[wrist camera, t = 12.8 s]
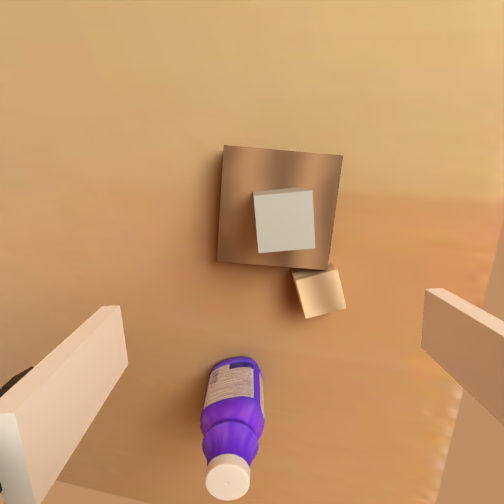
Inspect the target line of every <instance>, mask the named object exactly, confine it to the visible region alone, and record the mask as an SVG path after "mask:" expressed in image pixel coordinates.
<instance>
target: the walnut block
mask: <svg viewBox="0 0 504 504" xmlns="http://www.w3.org/2000/svg"><path fill="white" fill-rule="evenodd" d="M342 159H343V156H341V155H329V154H318V153H307V152H295V151H284V150H272V149H261V148H249V147H238V146H227V145H224V151H223V167H222V184H221V200H220V216H219V233H218V249H217V262H228V263H241V264H254V265H267V266H280V267H293V268H306V269H319V270H327V268H328V261H329V253H330V246H331V239H332V232H333V224H334V217H335V210H336V203H337V195H338V188H339V181H340V174H341V166H342ZM296 187H299V188H303V189H308V190H312V191H313V210H314V231H315V248H312V249H301V250H289V251H278V252H267V253H259V252H258V241H257V230H256V218H255V207H254V196H253V191H264V190H275V189H285V188H296Z"/></svg>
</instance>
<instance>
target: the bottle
mask: <svg viewBox="0 0 504 504" xmlns="http://www.w3.org/2000/svg"><path fill="white" fill-rule="evenodd" d="M264 420H265V419H264V400H263V382H262V374H261V371H260V369H259V367H258V365H257V364H256V362H255V361H254V360H253V359H251V358H249V357H234V358H230V359H227V360H224V361H222V362H220V363H218V364H217V365H216V366H215V367H214V368H213V369H212V371H211V373H210V377H209V380H208V385H207V390H206V395H205V400H204V404H203V409H202V413H201V418H200V422H201V426H200V427H201V430H202V432H203V435H204V438H203V444H202V446H203V452H204V455H205V456H206V458H207V469H206V479H205V484H206V488H207V490H208V491H209V493H210V494H211V495H213V496H214V497H216V498H218V499H221V500H235V499H238V498H240V497H242V496H243V495H244V494H245V493H246V492H247V490H248V488H249V484H250V465H251V462H252V460H253V459H254V458H255V456H256V455H257V451H258V440H259V438H260V436H261V434H262V431H263V428H264Z"/></svg>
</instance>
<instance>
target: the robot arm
mask: <svg viewBox="0 0 504 504" xmlns="http://www.w3.org/2000/svg"><path fill="white" fill-rule="evenodd" d="M421 348H422V349H423V350H424V351H425V352H426V353H428V354H429V355H430V356H431V357H432V358H433V359H434V360H435V361H436V362H437V363H438V364H439V365H440V366H441V367H442V368H443V369H444V370H445V371H447V372H448V373H449V374H450V375H451V376H452V377H453V378H454V379H455V380H456V381H457V382H458V383H459V384H460V385H461V386H462V387H463V388H465V389H466V390H467V391H468V392H469V393H470V394H471V395H472V396H473V397H474V398H475V399H476V400H477V401H478V402H479V403H480V404H482V406H484V407H485V408H486V409H487V410H488V411H489V412H490V413H491V414H492V415H493V416H494V417H495V418H496V419H497V420H499V422H501V423H502V424H503V425H504V322H503V321H502V320H500V319H498V318H496V317H494V316H493V315H491V314H489V313H487V312H485V311H484V310H482V309H480V308H478V307H476V306H474V305H473V304H471V303H469V302H467V301H465V300H463V299H462V298H460V297H458V296H456V295H454V294H452V293H451V292H449V291H447V290H445V289H443V288H437V289H425V298H424V312H423V326H422V341H421ZM127 365H128V358H127V351H126V344H125V337H124V330H123V323H122V316H121V309H120V305H119V306H102V307H101V308H100V309H99V310H97V311H96V312H95V313H94V314H93V315H92V316H91V317H90V318H88V319H87V320H86V321H85V322H84V323H83V324H82V325H81V326H80V327H78V328H77V329H76V330H75V331H74V332H73V333H72V334H71V335H70V336H68V337H67V338H66V339H65V340H64V341H63V342H62V343H61V344H60V345H58V346H57V347H56V348H55V349H54V350H53V351H52V352H51V353H49V354H48V355H47V356H46V357H45V358H44V359H43V360H42V361H41V362H39V363H38V364H37V365H36V366H35V367H30V368H28V369H27V370H25V371H23V372H21V373H20V374H18V375H16V376H14V377H13V378H12V379H11V380H10V381H8V382H7V383H6V384H5V385H4V386H3V387H2V389H0V493H2V497H3V501H4V504H41V503H42V501H43V499H44V498H45V496H46V495H47V493H48V492H49V490H50V488H51V487H52V485H53V483H54V482H55V480H56V479H57V477H58V476H59V474H60V472H61V471H62V469H63V468H64V466H65V464H66V463H67V461H68V460H69V458H70V456H71V455H72V453H73V452H74V450H75V448H76V447H77V445H78V443H79V442H80V440H81V439H82V437H83V435H84V434H85V432H86V431H87V429H88V427H89V426H90V424H91V423H92V421H93V419H94V418H95V416H96V415H97V413H98V411H99V410H100V408H101V407H102V405H103V403H104V402H105V400H106V399H107V397H108V395H109V394H110V392H111V391H112V389H113V387H114V386H115V384H116V383H117V381H118V379H119V378H120V376H121V375H122V373H123V371H124V370H125V368H126V367H127Z"/></svg>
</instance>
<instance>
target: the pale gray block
mask: <svg viewBox="0 0 504 504" xmlns="http://www.w3.org/2000/svg"><path fill="white" fill-rule="evenodd" d="M253 196H254V207H255V218H256V230H257V241H258V252H259V253H267V252H278V251H289V250H301V249H312V248H315V231H314V210H313V191H312V190H308V189H303V188H299V187H296V188H285V189H275V190H264V191H253Z"/></svg>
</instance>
